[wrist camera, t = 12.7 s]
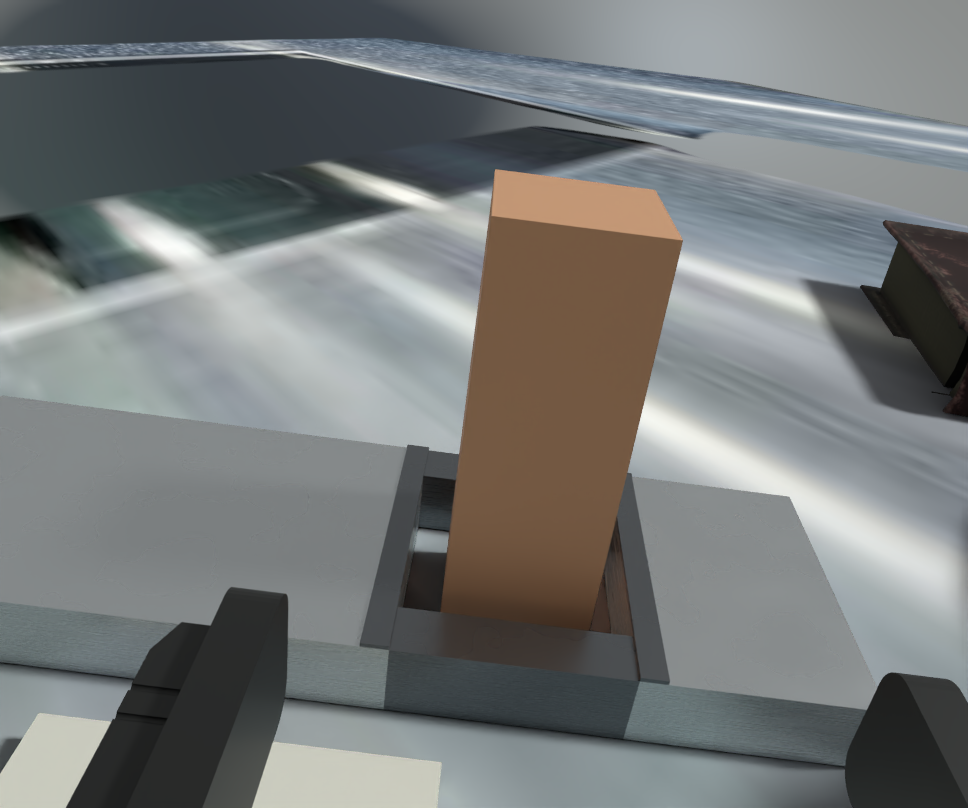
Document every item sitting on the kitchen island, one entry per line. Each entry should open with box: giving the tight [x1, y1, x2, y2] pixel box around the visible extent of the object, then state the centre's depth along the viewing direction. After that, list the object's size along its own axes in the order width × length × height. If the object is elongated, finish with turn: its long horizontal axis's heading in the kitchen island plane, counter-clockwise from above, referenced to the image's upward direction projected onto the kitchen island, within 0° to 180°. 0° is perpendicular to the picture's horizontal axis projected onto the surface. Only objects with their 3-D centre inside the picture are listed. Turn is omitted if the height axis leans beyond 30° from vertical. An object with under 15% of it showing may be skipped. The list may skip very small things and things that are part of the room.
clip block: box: [440, 169, 683, 631], centre depth 22 cm, size 4×4×12 cm
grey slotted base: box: [0, 396, 877, 766], centre depth 25 cm, size 26×9×2 cm, turn 87°
